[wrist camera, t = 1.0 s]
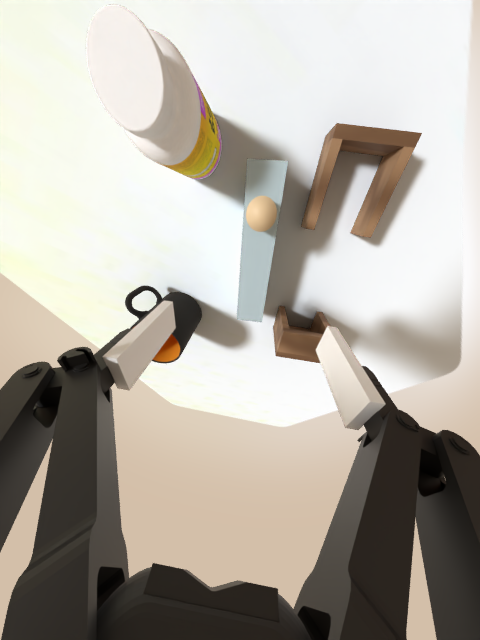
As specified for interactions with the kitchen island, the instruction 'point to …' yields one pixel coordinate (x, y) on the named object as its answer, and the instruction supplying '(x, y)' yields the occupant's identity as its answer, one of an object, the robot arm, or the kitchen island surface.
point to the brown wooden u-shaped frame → (392, 165)
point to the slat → (259, 233)
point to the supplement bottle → (151, 93)
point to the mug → (185, 321)
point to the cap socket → (298, 337)
